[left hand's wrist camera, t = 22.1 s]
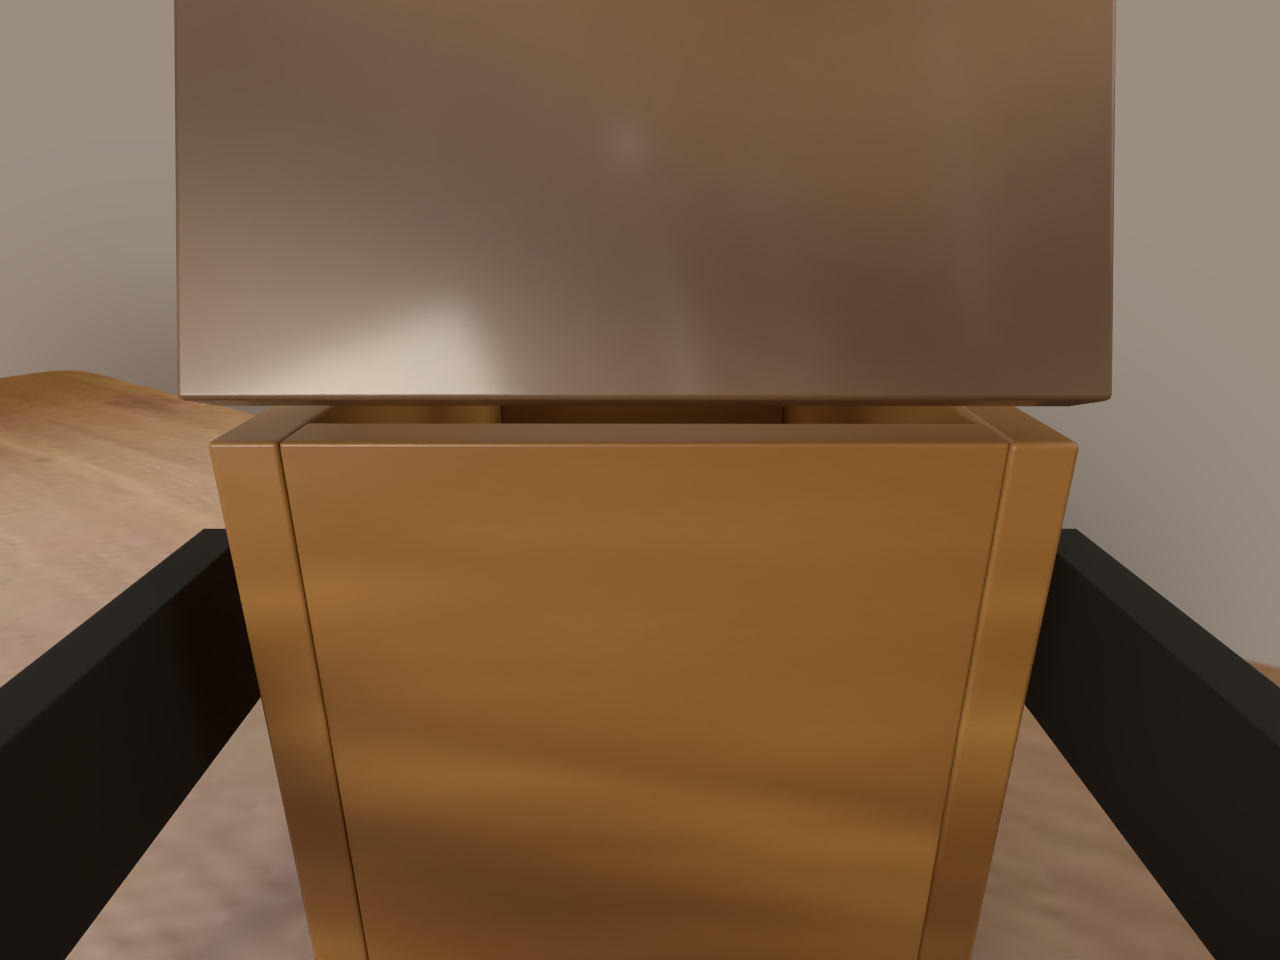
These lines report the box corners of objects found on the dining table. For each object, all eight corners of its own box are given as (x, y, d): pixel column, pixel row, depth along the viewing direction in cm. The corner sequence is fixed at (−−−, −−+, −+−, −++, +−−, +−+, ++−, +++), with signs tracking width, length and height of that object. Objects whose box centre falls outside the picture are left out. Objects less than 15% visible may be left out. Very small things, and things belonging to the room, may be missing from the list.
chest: (493, 597, 27) (469, 288, 23) (791, 597, 27) (815, 288, 23) (330, 1045, 13) (203, 442, 9) (955, 1047, 13) (1084, 444, 9)
